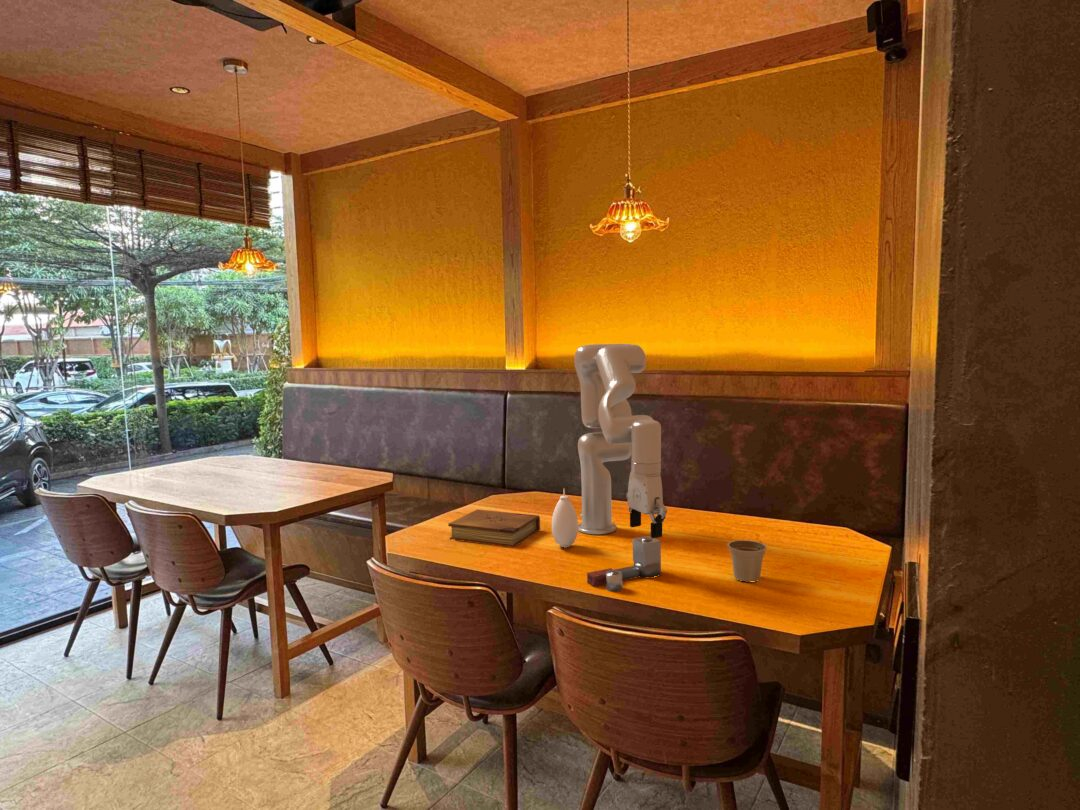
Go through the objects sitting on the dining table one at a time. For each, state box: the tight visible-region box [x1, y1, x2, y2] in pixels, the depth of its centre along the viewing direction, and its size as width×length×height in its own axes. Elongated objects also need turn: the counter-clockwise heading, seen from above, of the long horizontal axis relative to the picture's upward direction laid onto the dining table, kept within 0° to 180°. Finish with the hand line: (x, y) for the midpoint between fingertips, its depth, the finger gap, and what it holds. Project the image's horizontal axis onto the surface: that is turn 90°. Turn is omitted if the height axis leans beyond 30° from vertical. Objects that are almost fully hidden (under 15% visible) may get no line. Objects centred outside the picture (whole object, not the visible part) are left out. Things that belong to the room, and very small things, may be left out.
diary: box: [447, 509, 541, 548], centre depth 209 cm, size 23×19×6 cm
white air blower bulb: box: [551, 488, 579, 549], centre depth 194 cm, size 8×8×18 cm
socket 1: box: [605, 569, 623, 593], centre depth 161 cm, size 4×4×4 cm
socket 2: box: [632, 535, 662, 567], centre depth 171 cm, size 5×5×6 cm
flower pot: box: [727, 539, 768, 583], centre depth 165 cm, size 9×9×9 cm
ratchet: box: [586, 561, 662, 588], centre depth 168 cm, size 7×20×6 cm, turn 114°
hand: (645, 531), depth 171 cm, fingers open, 9 cm apart
